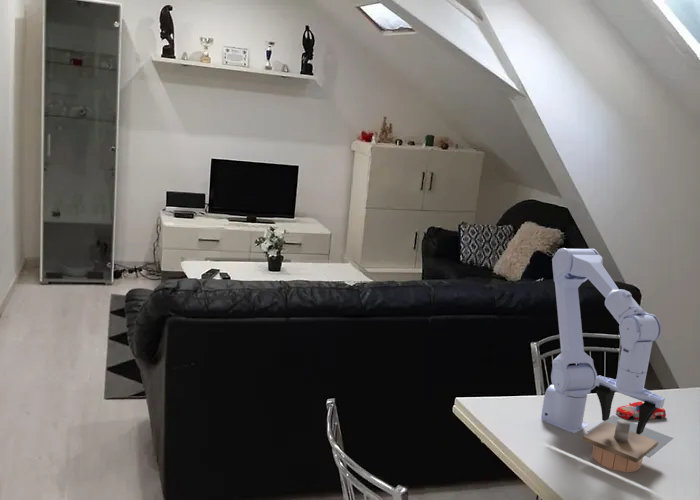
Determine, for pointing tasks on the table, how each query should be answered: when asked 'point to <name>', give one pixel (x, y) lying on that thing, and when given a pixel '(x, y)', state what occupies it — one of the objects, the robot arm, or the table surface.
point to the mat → (646, 432)
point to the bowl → (614, 460)
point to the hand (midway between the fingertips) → (622, 426)
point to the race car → (633, 412)
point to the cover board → (620, 447)
